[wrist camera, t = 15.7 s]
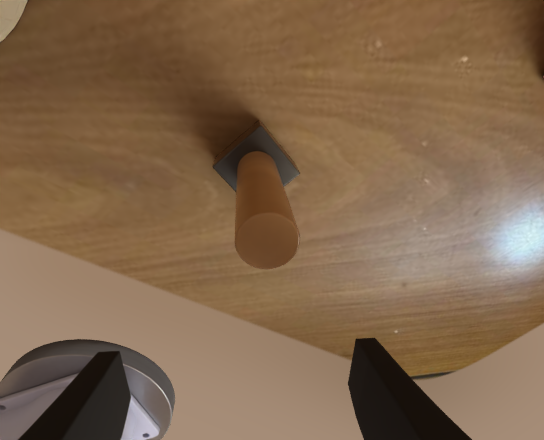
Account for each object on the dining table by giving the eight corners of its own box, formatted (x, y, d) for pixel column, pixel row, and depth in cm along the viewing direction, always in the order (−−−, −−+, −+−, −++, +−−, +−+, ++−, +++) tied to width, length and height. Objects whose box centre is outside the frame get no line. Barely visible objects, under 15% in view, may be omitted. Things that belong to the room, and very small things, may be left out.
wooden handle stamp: (252, 199, 19) (261, 301, 11) (214, 158, 18) (191, 238, 10) (296, 165, 18) (339, 246, 10) (259, 119, 17) (276, 171, 9)
